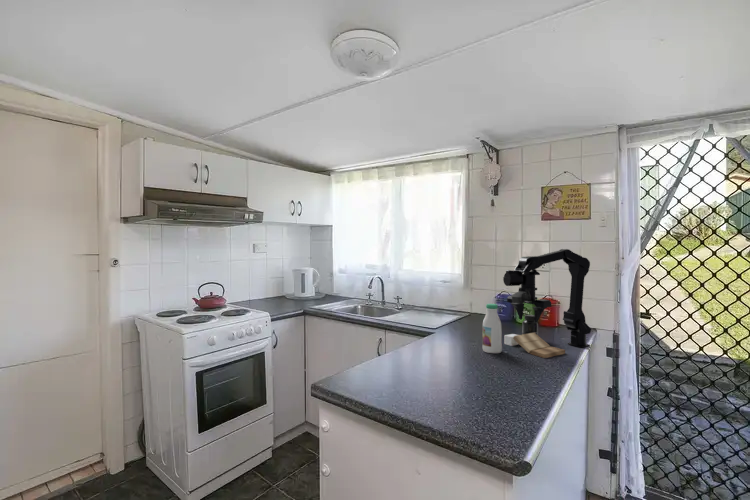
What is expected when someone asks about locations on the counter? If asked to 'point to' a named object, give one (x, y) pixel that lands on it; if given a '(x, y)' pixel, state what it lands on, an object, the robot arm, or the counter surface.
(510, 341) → the block
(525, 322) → the supplement bottle
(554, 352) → the floorboard
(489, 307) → the milk bottle
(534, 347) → the plank
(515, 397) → the counter surface
